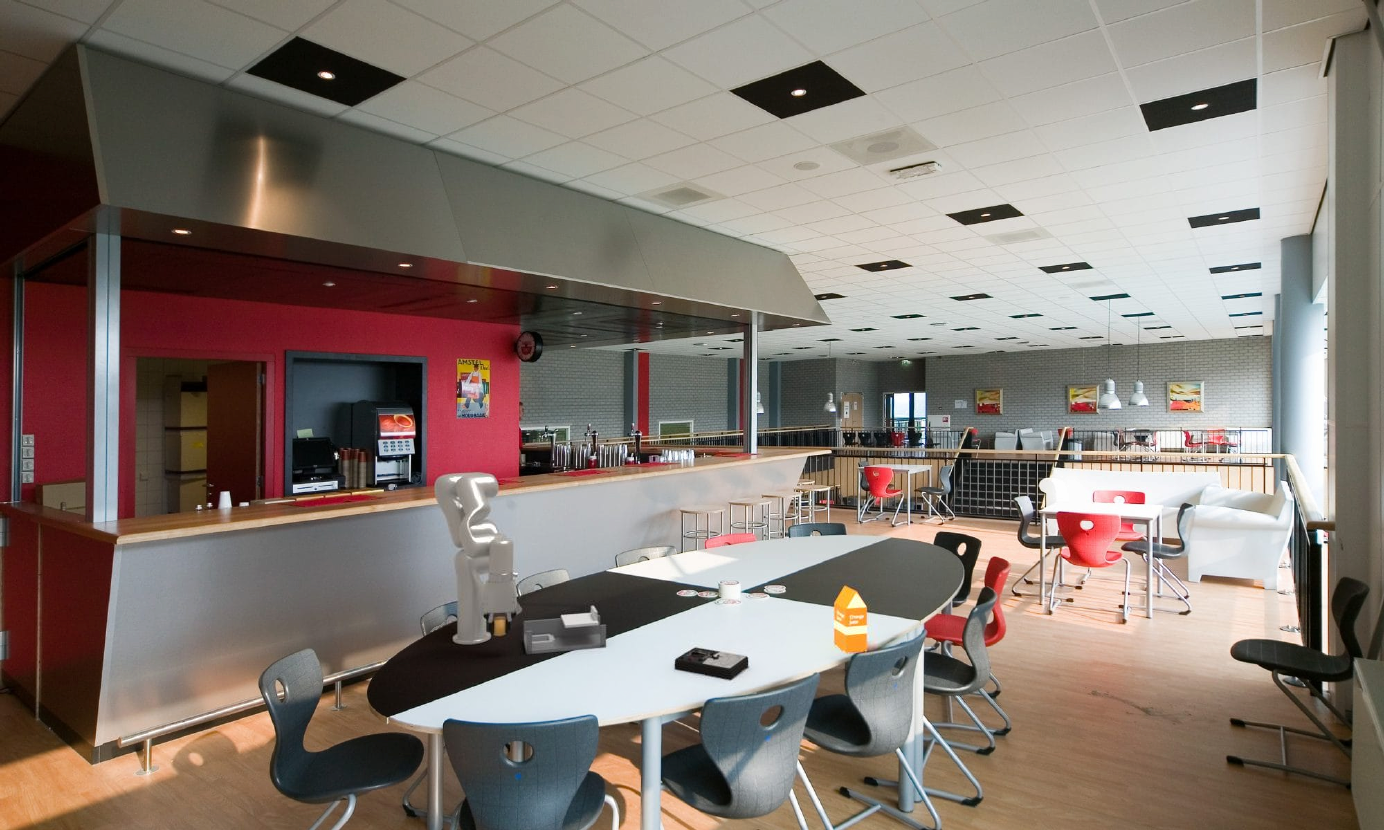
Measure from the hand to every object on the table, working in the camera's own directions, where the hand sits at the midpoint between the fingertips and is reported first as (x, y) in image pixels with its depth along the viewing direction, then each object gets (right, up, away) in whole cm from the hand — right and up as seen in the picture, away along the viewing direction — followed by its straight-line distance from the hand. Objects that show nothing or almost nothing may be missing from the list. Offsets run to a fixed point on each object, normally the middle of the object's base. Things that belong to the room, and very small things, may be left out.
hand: (499, 632), depth 240 cm
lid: (+24, 0, +13) cm, 27 cm away
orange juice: (+115, -8, +9) cm, 115 cm away
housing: (+19, -8, +12) cm, 24 cm away
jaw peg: (0, 0, 0) cm, 0 cm away
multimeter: (+68, -8, -10) cm, 69 cm away
